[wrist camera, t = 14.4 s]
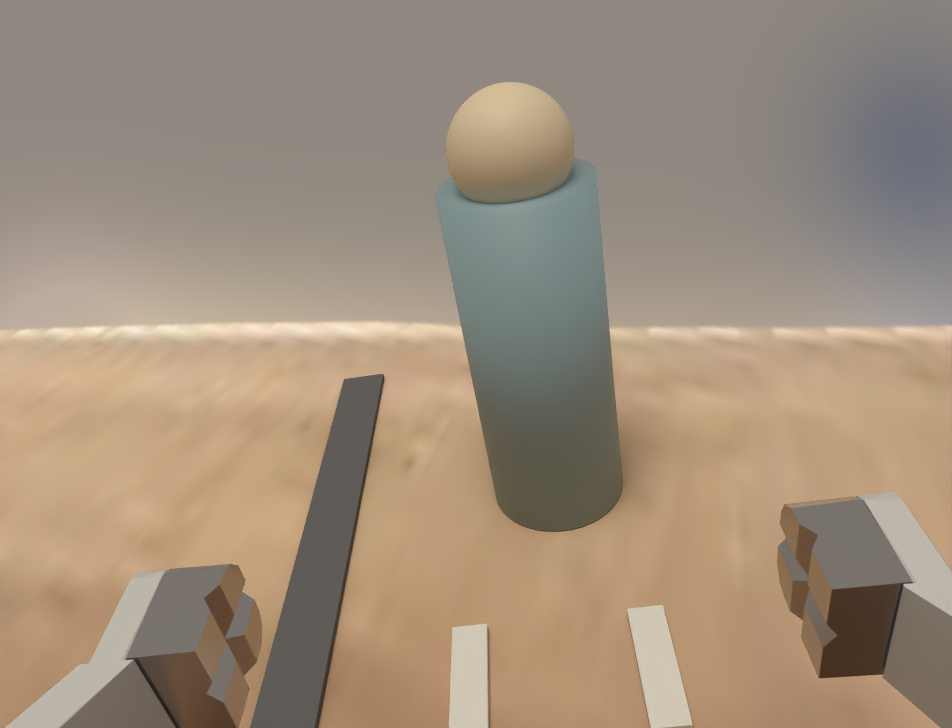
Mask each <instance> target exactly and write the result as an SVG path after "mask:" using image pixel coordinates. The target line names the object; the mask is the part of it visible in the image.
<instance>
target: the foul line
mask: <svg viewBox="0 0 952 728" xmlns="http://www.w3.org/2000/svg"><path fill="white" fill-rule="evenodd" d="M383 381H384V375H383V374H378V375H371V376H364V377H357V378H349V379H344V382H343V385H342V389H341V393H340V397H339V400H338V404H337V408H336V411H335V415H334V419H333V423H332V426H331V430H330V434H329V437H328V441H327V445H326V449H325V452H324V456H323V460H322V463H321V467H320V471H319V475H318V478H317V482H316V486H315V489H314V493H313V497H312V501H311V504H310V508H309V512H308V515H307V519H306V523H305V527H304V530H303V534H302V538H301V541H300V545H299V549H298V553H297V556H296V560H295V564H294V567H293V571H292V575H291V579H290V582H289V586H288V590H287V593H286V597H285V601H284V605H283V608H282V612H281V616H280V619H279V623H278V627H277V631H276V634H275V638H274V642H273V645H272V649H271V653H270V657H269V660H268V664H267V668H266V671H265V675H264V679H263V683H262V686H261V690H260V694H259V697H258V701H257V705H256V709H255V712H254V716H253V720H252V723H251V727H250V728H317V727H318V722H319V717H320V711H321V706H322V701H323V696H324V690H325V685H326V680H327V675H328V669H329V664H330V659H331V654H332V648H333V643H334V638H335V633H336V627H337V622H338V617H339V612H340V606H341V601H342V596H343V591H344V585H345V580H346V575H347V570H348V564H349V559H350V554H351V549H352V544H353V538H354V533H355V528H356V523H357V517H358V512H359V507H360V502H361V496H362V491H363V486H364V481H365V475H366V470H367V465H368V460H369V454H370V449H371V444H372V439H373V433H374V428H375V423H376V418H377V412H378V407H379V402H380V397H381V391H382V386H383Z"/></svg>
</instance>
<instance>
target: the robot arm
mask: <svg viewBox="0 0 952 728" xmlns="http://www.w3.org/2000/svg"><path fill="white" fill-rule="evenodd" d="M780 525H781V528H782V530H783V532H784V534H785V536H786V539H785V540H784V541H783V542H782V543H781V544H780V545H779V546H778V557H777V565H778V573H779V580H780V584H781V588H782V591H783V595H784V597H785V600H786V602H787V605H788V607H789V610H790V611H791V612H792V613H793V614H795V615H796V616H798V617H799V618H800V619H802V620H803V625H802V634H801V638H802V641H803V643H804V645H805V648H806V650H807V652H808V654H809V657H810V659H811V661H812V664H813V666H814V668H815V671H816V673H817V675H818V678H833V677H850V676H866V675H882V674H883V678H884V679H885V680H886V681H887V682H888V683H890V684H891V685H892V686H893V687H894V688H895V689H897V690H898V691H899V692H900V693H901V694H902V695H904V696H905V697H906V698H907V699H908V700H909V701H911V702H912V703H913V704H914V705H915V706H916V707H917V708H919V709H920V710H921V711H922V712H923V713H924V714H926V715H927V716H928V717H929V718H930V719H931V720H933V721H934V722H935V723H936V724H937V725H938V726H940V727H941V728H952V571H951V569H950V568H949V566H948V565H947V563H946V562H945V560H944V559H943V558H942V556H941V555H940V553H939V552H938V550H937V549H936V547H935V546H934V544H933V543H932V542H931V540H930V539H929V537H928V536H927V534H926V533H925V531H924V530H923V529H922V527H921V526H920V524H919V523H918V521H917V520H916V518H915V517H914V515H913V514H912V513H911V511H910V510H909V508H908V507H907V505H906V504H905V502H904V501H903V499H902V498H901V497H900V496H899V495H897V494H896V493H894V492H887V493H879V494H870V495H861V496H856V497H844V498H835V499H827V500H818V501H810V502H801V503H793V504H785V505H784V507H783V509H782V511H781V519H780ZM244 584H245V578H244V576H243V574H242V572H241V570H240V568H239V566H238V565H233V564H226V565H214V566H201V567H189V568H177V569H170V570H160V571H147V572H139V573H137V574H136V575H135V576H134V577H133V578H132V579H131V580H130V581H129V583H128V585H127V587H126V589H125V591H124V593H123V595H122V597H121V599H120V601H119V603H118V605H117V607H116V609H115V611H114V613H113V615H112V617H111V619H110V622H109V624H108V626H107V628H106V630H105V632H104V634H103V636H102V638H101V640H100V642H99V644H98V646H97V648H96V650H95V652H94V654H93V656H92V658H91V660H90V662H89V664H81V665H78V666H77V667H76V668H75V669H74V670H72V671H71V672H70V673H69V674H68V675H66V676H65V677H64V678H63V679H62V680H61V681H59V682H58V683H57V684H56V685H55V686H54V687H52V688H51V689H50V690H49V691H48V692H46V693H45V694H44V695H43V696H42V697H41V698H39V699H38V700H37V701H36V702H35V703H34V704H32V705H31V706H30V707H29V708H28V709H26V710H25V711H24V712H23V713H22V714H21V715H19V716H18V717H17V718H16V719H15V720H14V721H12V722H11V723H10V724H9V725H8V726H6V727H5V728H239V724H240V721H241V717H242V714H243V710H244V707H245V703H246V700H247V696H248V693H249V689H250V688H249V686H248V684H247V682H246V680H245V678H244V675H245V674H246V673H247V672H248V671H249V670H250V669H251V668H252V667H253V666H254V665H255V664H256V663H257V660H258V656H259V652H260V649H261V644H262V622H261V616H260V611H259V609H258V607H257V604H256V602H255V600H254V599H252V598H251V597H249V596H248V595H246V594H244V593H243V592H242V590H243V587H244Z"/></svg>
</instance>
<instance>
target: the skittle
mask: <svg viewBox="0 0 952 728" xmlns="http://www.w3.org/2000/svg"><path fill="white" fill-rule="evenodd" d="M446 157H447V164H448V168H449V171H450V174H451V176H452V177H451V178H450V179H448V180H447V181H446V182H444V183H443V184H442V185H441V186H440V187H439V188H438V190H437V191H436V194H435V200H436V205H437V209H438V215H439V219H440V224H441V229H442V234H443V239H444V244H445V249H446V254H447V259H448V264H449V268H450V273H451V278H452V282H453V288H454V293H455V298H456V303H457V308H458V312H459V318H460V322H461V327H462V332H463V337H464V342H465V347H466V352H467V357H468V362H469V367H470V371H471V376H472V381H473V386H474V391H475V396H476V401H477V406H478V411H479V416H480V420H481V425H482V430H483V435H484V440H485V445H486V450H487V455H488V460H489V465H490V469H491V474H492V479H493V484H494V489H495V494H496V499H497V502H498V504H499V506H500V508H501V510H502V511H503V512H504V513H505V514H506V515H507V516H508V517H509V518H510V519H512V520H513V521H515V522H516V523H518V524H520V525H522V526H525V527H528V528H531V529H536V530H541V531H566V530H572V529H576V528H580V527H583V526H585V525H588V524H590V523H592V522H594V521H596V520H598V519H600V518H601V517H603V516H604V515H605V514H607V513H608V512H609V511H610V510H611V509H612V508H613V507H614V505H615V504H616V502H617V501H618V499H619V497H620V495H621V491H622V472H621V461H620V449H619V437H618V425H617V413H616V402H615V390H614V378H613V366H612V355H611V343H610V331H609V320H608V307H607V296H606V284H605V272H604V261H603V250H602V237H601V225H600V214H599V201H598V190H597V178H596V171H595V168H594V166H592V165H591V164H590V163H589V162H587V161H584V160H582V159H579V158H575V157H574V139H573V133H572V129H571V126H570V123H569V121H568V118H567V116H566V115H565V113H564V111H563V110H562V108H561V107H560V106H559V105H558V103H557V102H556V101H555V100H554V99H553V98H552V97H550V96H549V95H548V94H546V93H545V92H543V91H542V90H540V89H538V88H536V87H534V86H531V85H527V84H524V83H517V82H504V83H498V84H494V85H490V86H488V87H486V88H484V89H481V90H479V91H478V92H476V93H475V94H474V95H472V96H471V97H470V98H469V99H468V100H466V102H464V103H463V105H462V106H461V107H460V108H459V110H458V111H457V113H456V114H455V116H454V118H453V120H452V122H451V125H450V128H449V131H448V135H447V141H446Z"/></svg>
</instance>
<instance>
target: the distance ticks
mask: <svg viewBox="0 0 952 728" xmlns="http://www.w3.org/2000/svg"><path fill="white" fill-rule="evenodd" d="M627 614H628V619H629V624H630V629H631V634H632V639H633V644H634V649H635V654H636V659H637V664H638V669H639V674H640V679H641V684H642V689H643V694H644V699H645V704H646V709H647V714H648V719H649V724H650V728H693V724H692V720H691V716H690V712H689V708H688V704H687V700H686V696H685V692H684V688H683V684H682V680H681V676H680V672H679V668H678V664H677V660H676V656H675V652H674V648H673V644H672V640H671V636H670V632H669V628H668V624H667V620H666V616H665V612H664V608H663V605H658V606H649V607H640V608H630V609H627ZM449 728H489V680H488V626H487V624H480V625H471V626H461V627H453V629H452V657H451V684H450V712H449Z"/></svg>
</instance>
